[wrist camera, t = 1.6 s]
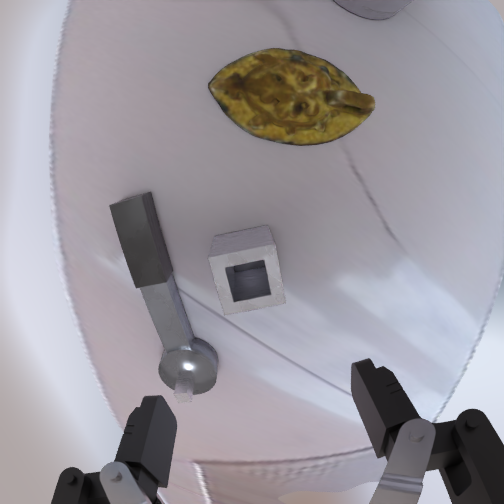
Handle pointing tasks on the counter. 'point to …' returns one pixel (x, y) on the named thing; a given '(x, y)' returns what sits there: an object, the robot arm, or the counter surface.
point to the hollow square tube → (250, 281)
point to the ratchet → (163, 299)
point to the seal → (290, 97)
